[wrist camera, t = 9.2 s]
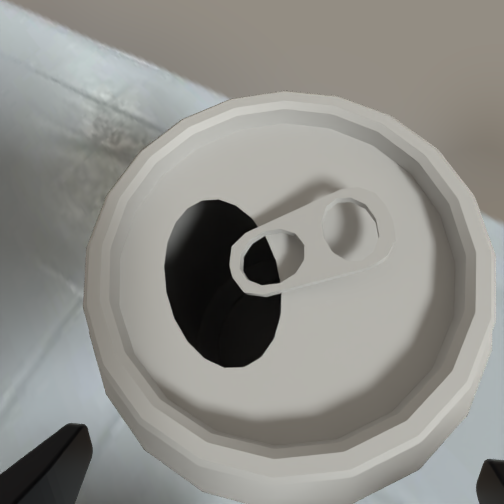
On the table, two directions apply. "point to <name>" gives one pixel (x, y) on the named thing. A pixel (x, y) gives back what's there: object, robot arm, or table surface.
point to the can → (290, 299)
